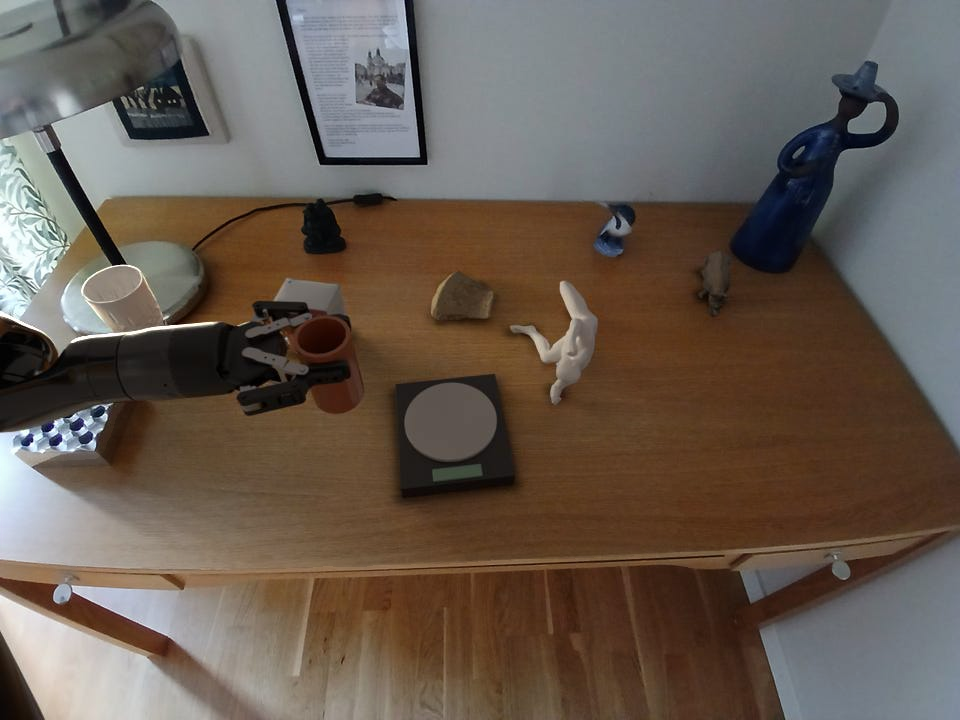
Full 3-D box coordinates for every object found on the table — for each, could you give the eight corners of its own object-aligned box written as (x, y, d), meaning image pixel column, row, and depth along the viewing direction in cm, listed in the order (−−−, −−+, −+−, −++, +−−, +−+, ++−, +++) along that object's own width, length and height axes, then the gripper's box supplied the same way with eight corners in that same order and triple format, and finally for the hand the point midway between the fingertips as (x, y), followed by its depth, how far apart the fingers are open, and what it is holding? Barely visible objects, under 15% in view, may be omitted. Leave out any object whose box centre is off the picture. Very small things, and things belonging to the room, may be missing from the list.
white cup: (109, 329, 86) (74, 280, 78) (160, 306, 89) (131, 257, 82) (127, 359, 82) (91, 311, 74) (179, 334, 85) (151, 286, 78)
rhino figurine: (695, 325, 88) (708, 297, 83) (697, 269, 96) (708, 241, 92) (722, 330, 87) (736, 303, 83) (721, 273, 96) (734, 246, 91)
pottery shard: (430, 326, 89) (488, 329, 85) (422, 305, 86) (483, 306, 82) (452, 285, 96) (507, 286, 92) (445, 264, 93) (502, 264, 90)
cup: (364, 411, 63) (349, 354, 55) (312, 416, 62) (290, 359, 54) (364, 371, 66) (350, 313, 59) (315, 376, 66) (294, 318, 58)
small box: (289, 354, 83) (269, 303, 75) (302, 327, 87) (285, 276, 79) (340, 361, 82) (326, 311, 74) (352, 333, 86) (339, 283, 78)
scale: (514, 484, 70) (515, 473, 68) (402, 498, 69) (400, 486, 66) (494, 384, 80) (495, 370, 78) (396, 394, 79) (394, 381, 76)
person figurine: (518, 266, 80) (575, 339, 67) (594, 265, 85) (661, 332, 72) (501, 340, 88) (549, 418, 75) (571, 335, 92) (628, 408, 79)
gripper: (149, 397, 49) (342, 377, 51) (181, 286, 58) (344, 273, 60) (183, 441, 55) (355, 422, 57) (207, 334, 64) (355, 321, 66)
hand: (349, 345), depth 58 cm, fingers closed on cup, 5 cm apart
